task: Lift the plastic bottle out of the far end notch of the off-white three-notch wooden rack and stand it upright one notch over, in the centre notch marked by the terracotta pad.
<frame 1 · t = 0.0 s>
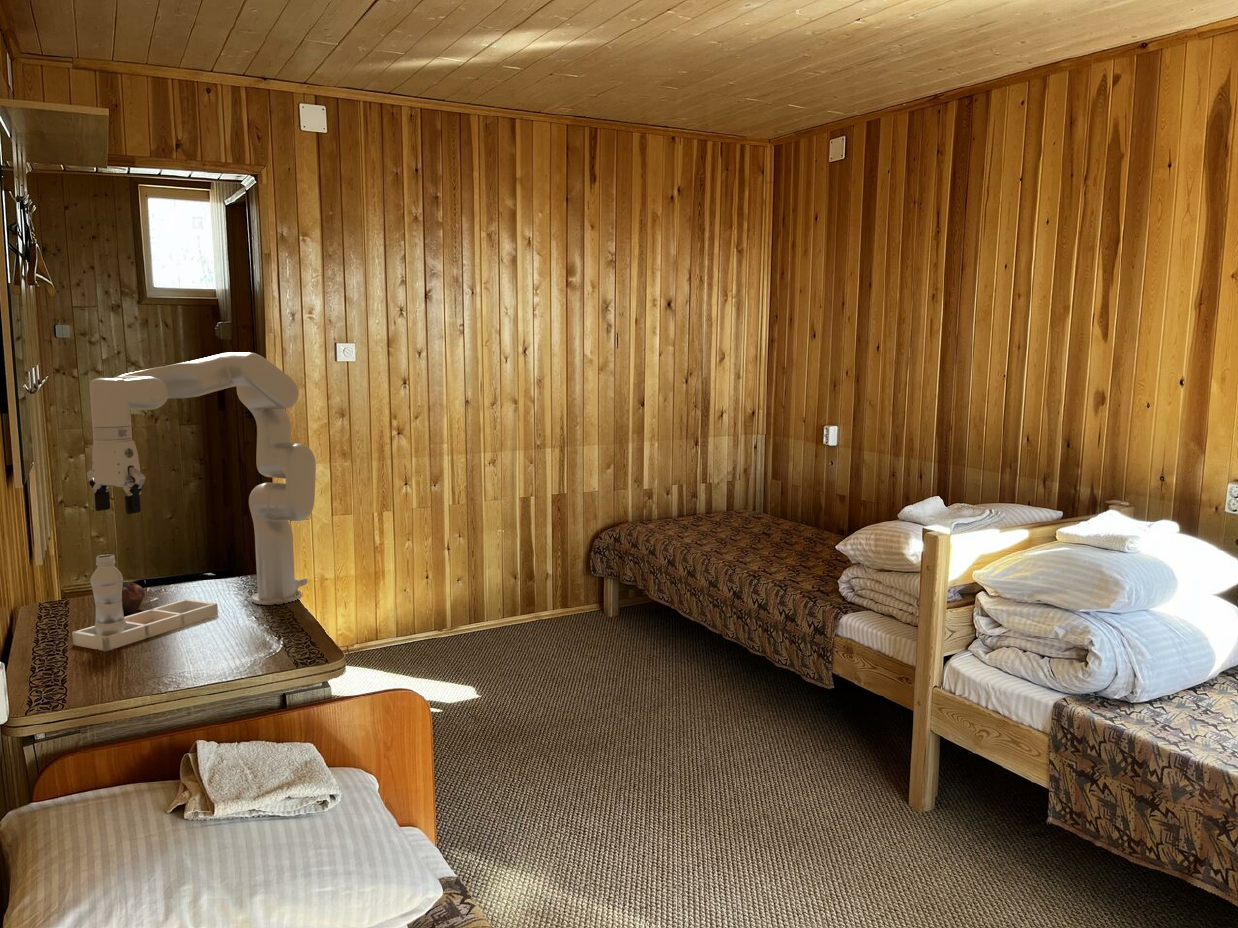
hand: (118, 511, 205), 31 cm above the table, tool pointing down, fingers open, 9 cm apart
decorative turtle: (124, 612, 238), on the table
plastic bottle: (111, 641, 214), resting in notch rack
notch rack: (149, 629, 223), on the table
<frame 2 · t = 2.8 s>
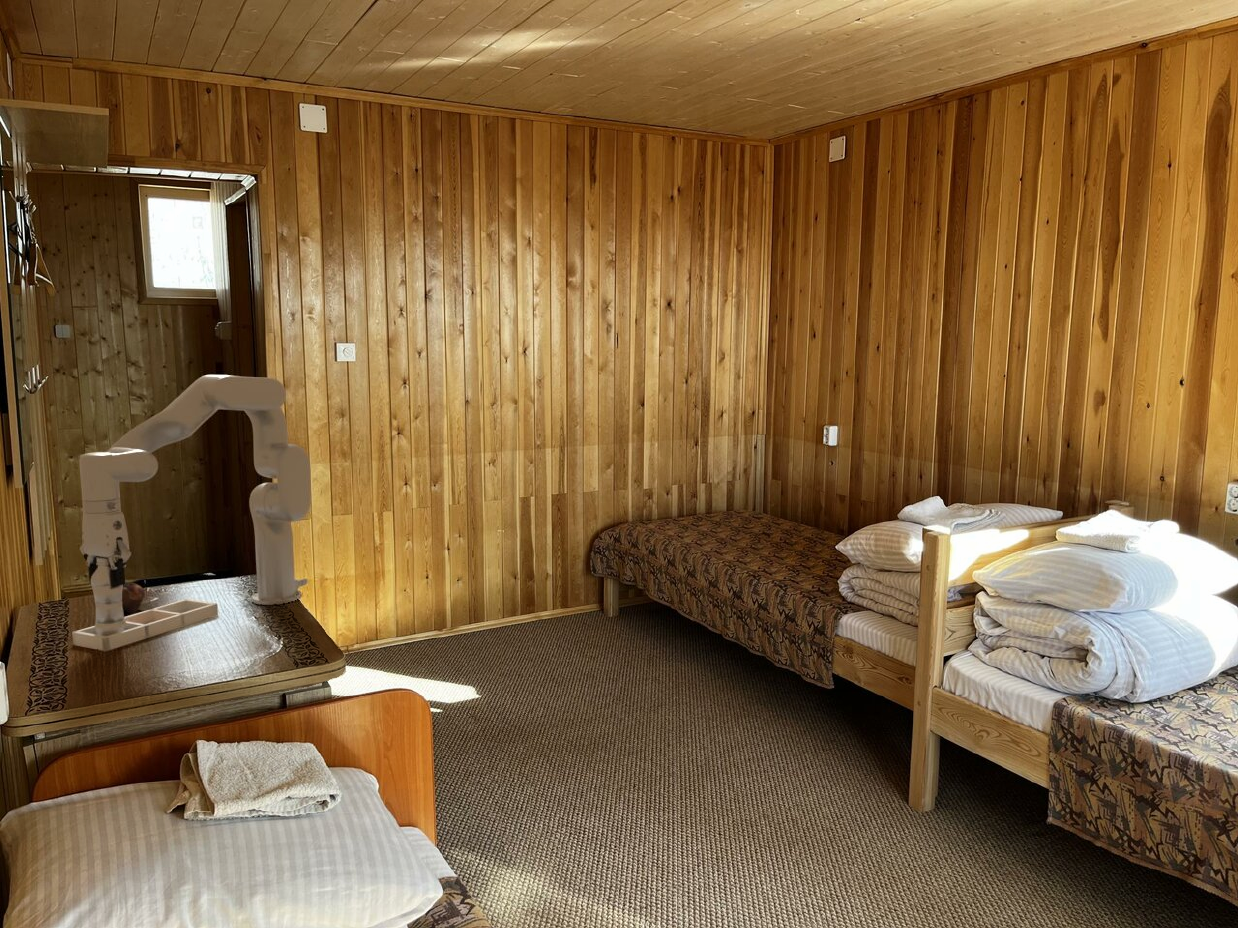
hand: (107, 583, 212), 14 cm above the table, tool pointing down, fingers closed on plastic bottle, 6 cm apart
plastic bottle: (111, 641, 214), resting in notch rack, touching gripper
everything else where it was.
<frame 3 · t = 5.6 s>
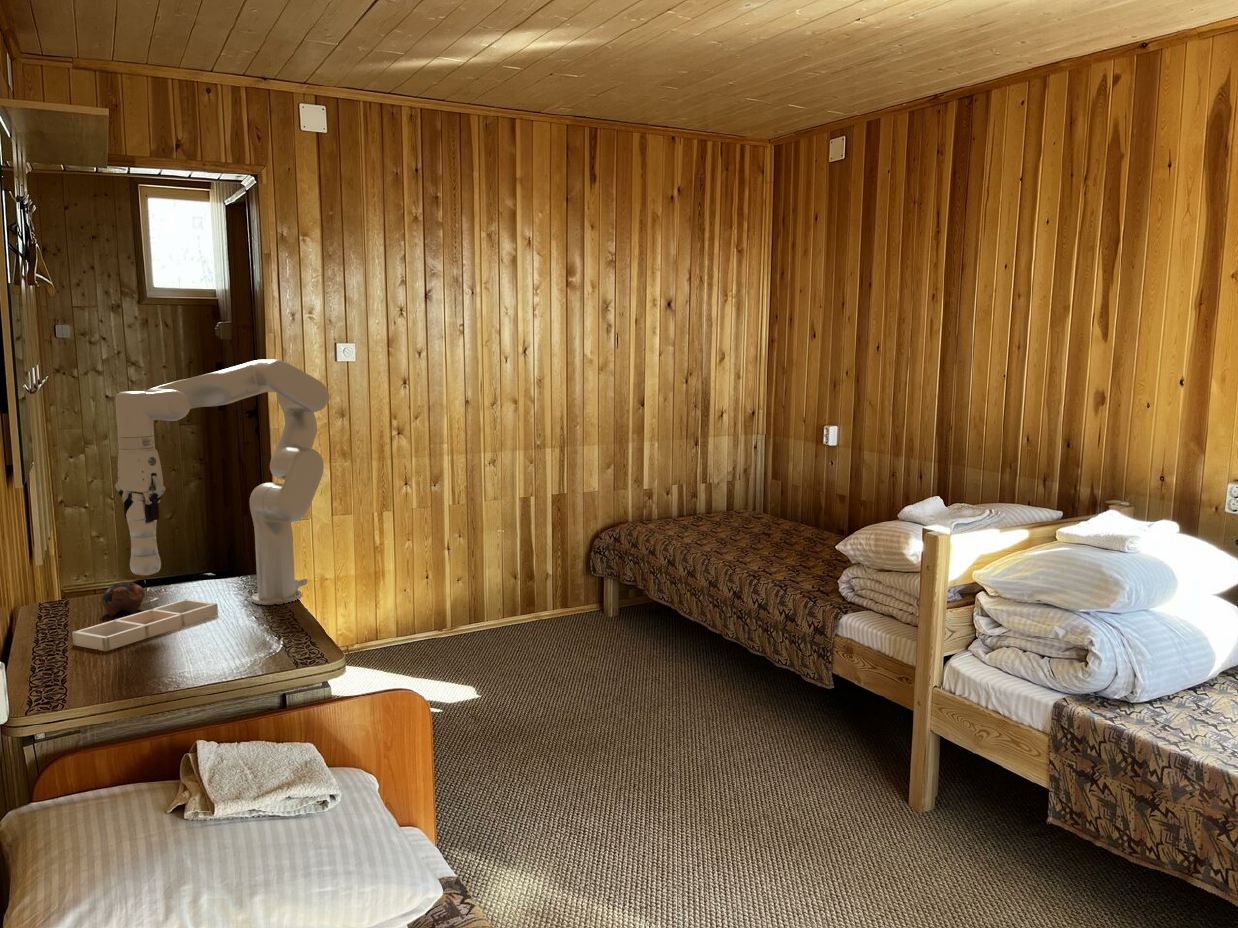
hand: (142, 518, 219), 27 cm above the table, tool pointing down, fingers closed on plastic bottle, 6 cm apart
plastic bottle: (146, 575, 221), point 13 cm above the table, touching gripper
everything else where it was.
when the fingers open (15 cm above the table, at t = 8.3 s): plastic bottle stays where it is, resting on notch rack.
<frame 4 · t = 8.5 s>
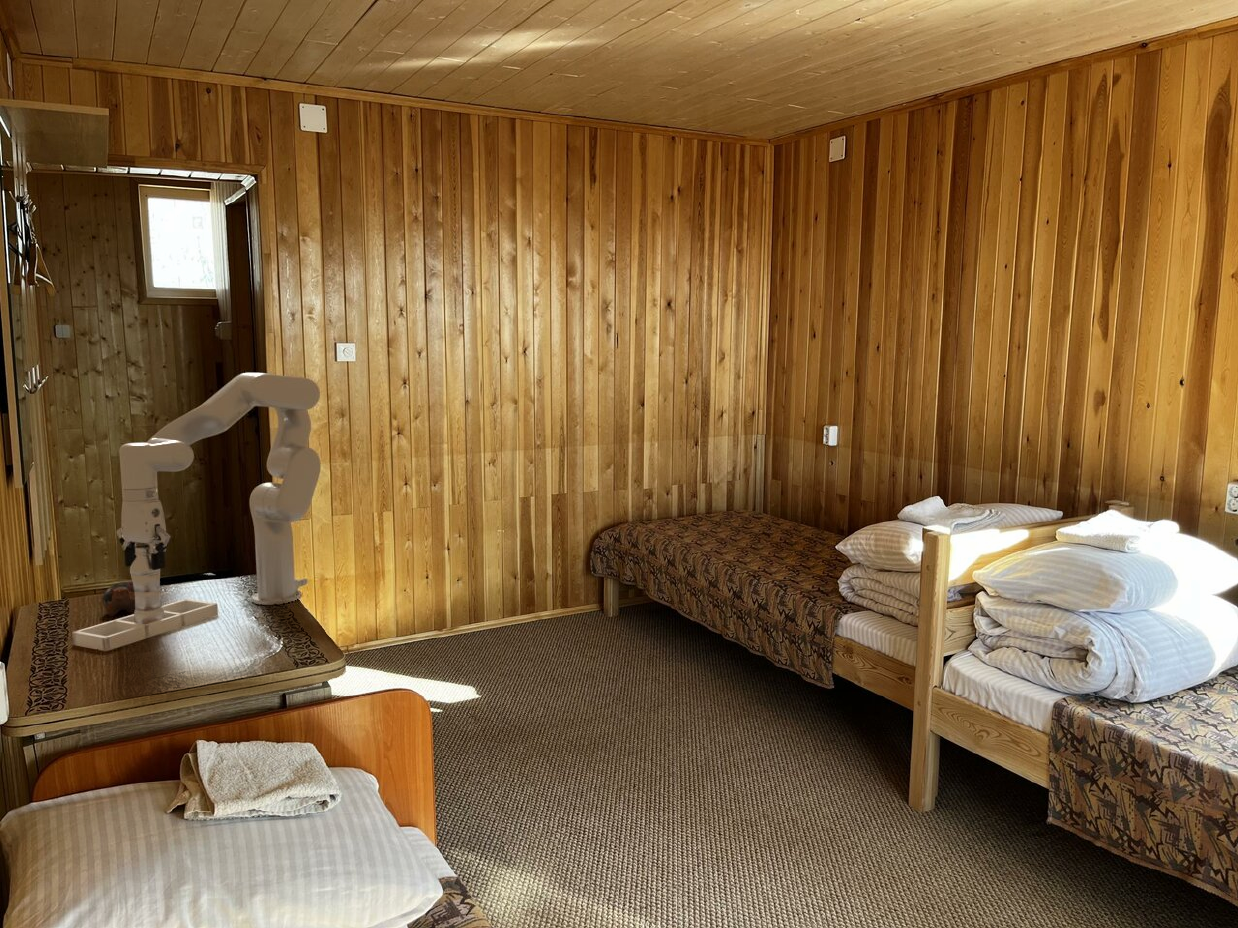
hand: (145, 566, 221), 15 cm above the table, tool pointing down, fingers open, 8 cm apart
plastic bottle: (150, 628, 223), resting on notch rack
everything else where it was.
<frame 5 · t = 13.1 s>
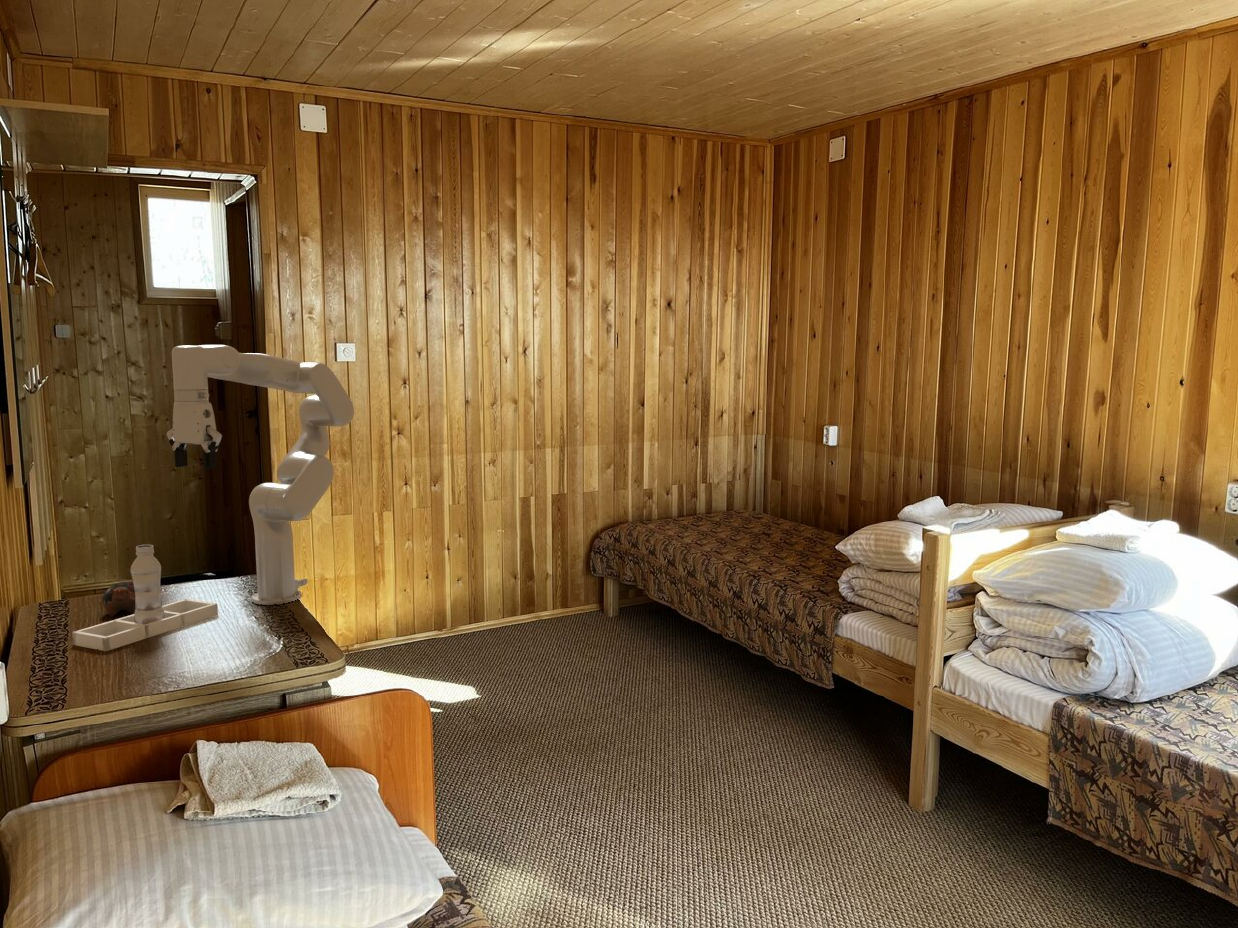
hand: (195, 467, 225), 38 cm above the table, tool pointing down, fingers open, 9 cm apart
nothing on the table moved.
at the end: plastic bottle 0.2 cm from the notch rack (horizontally); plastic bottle tilted 0°; the gripper is holding nothing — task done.
